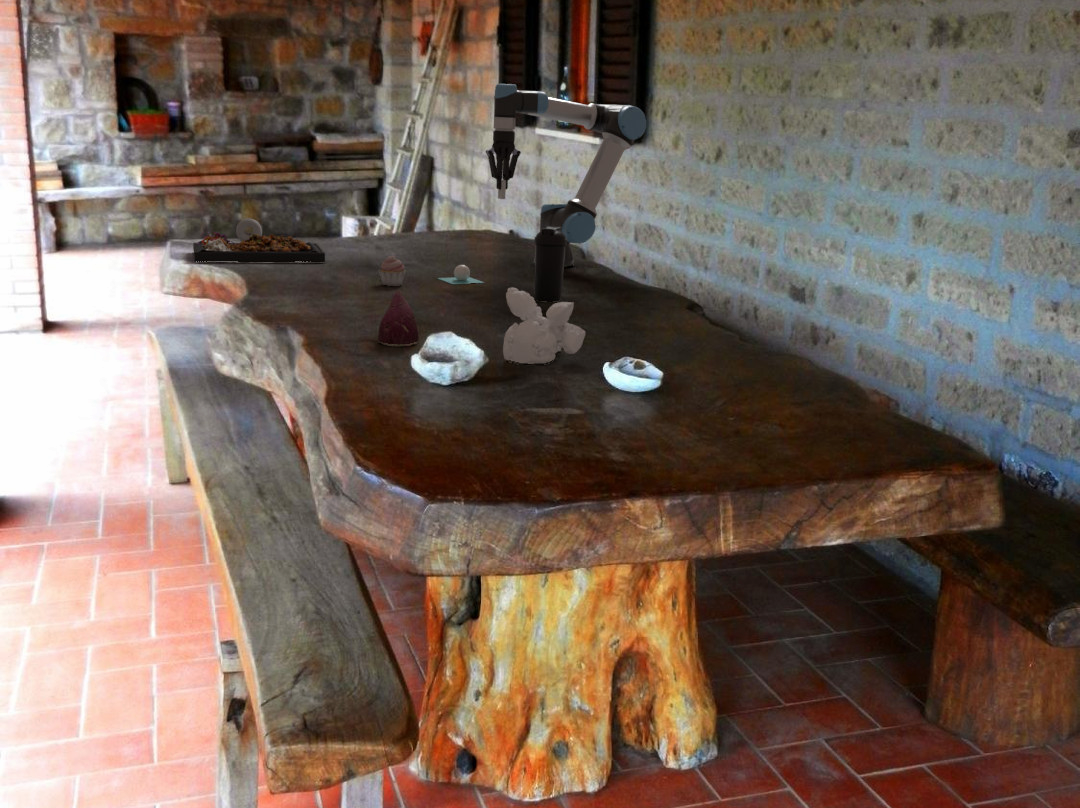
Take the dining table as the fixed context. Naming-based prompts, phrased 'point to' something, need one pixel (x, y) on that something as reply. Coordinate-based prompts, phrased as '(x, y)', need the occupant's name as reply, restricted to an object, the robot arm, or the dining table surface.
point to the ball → (461, 272)
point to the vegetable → (398, 323)
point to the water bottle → (549, 264)
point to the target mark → (455, 281)
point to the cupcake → (392, 271)
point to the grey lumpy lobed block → (539, 330)
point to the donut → (244, 224)
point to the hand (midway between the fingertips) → (501, 198)
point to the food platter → (257, 249)
